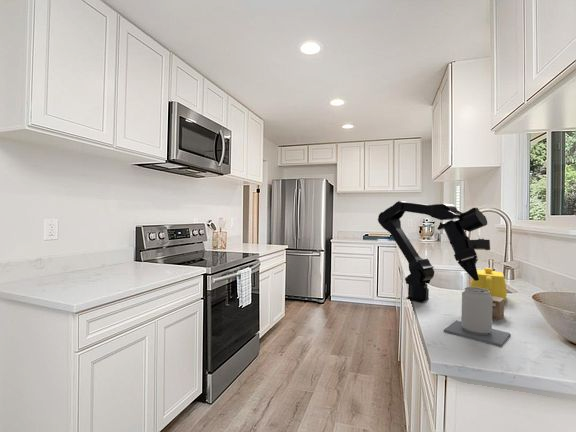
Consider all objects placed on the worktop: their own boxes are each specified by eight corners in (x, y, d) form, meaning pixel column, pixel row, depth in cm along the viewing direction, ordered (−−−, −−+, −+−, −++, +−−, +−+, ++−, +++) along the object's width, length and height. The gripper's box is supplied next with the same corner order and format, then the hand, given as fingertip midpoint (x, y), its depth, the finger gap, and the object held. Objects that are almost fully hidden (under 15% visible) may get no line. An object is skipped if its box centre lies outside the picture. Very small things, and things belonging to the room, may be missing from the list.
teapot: (470, 289, 142) (471, 263, 142) (504, 293, 136) (504, 265, 136) (469, 300, 125) (470, 270, 125) (508, 305, 119) (508, 273, 118)
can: (491, 338, 86) (492, 293, 85) (460, 332, 90) (461, 289, 89) (491, 329, 92) (492, 288, 92) (462, 324, 96) (463, 284, 96)
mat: (443, 331, 92) (443, 329, 92) (456, 322, 99) (456, 320, 99) (501, 346, 82) (501, 344, 82) (510, 335, 90) (510, 333, 90)
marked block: (478, 316, 106) (478, 298, 106) (483, 311, 111) (483, 294, 110) (499, 320, 102) (499, 301, 102) (503, 316, 106) (504, 298, 106)
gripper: (482, 224, 101) (505, 272, 95) (482, 232, 116) (502, 273, 111) (445, 236, 105) (466, 283, 100) (450, 242, 121) (468, 283, 116)
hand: (477, 280), depth 107 cm, fingers open, 9 cm apart
